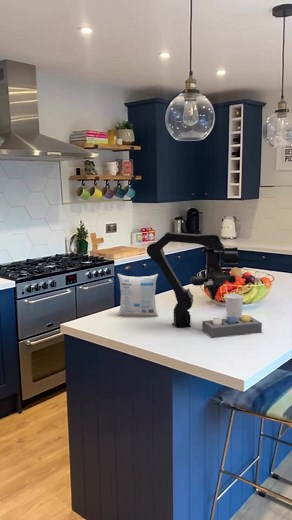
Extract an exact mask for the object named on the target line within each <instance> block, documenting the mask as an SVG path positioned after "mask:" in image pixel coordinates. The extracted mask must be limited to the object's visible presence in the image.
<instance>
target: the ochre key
mask: <svg viewBox="0 0 292 520" xmlns="http://www.w3.org/2000/svg"><path fill="white" fill-rule="evenodd" d="M241 317H242V322H243V323H245V322H250V317H251V315H249V314H243V315H242V316H241Z"/></svg>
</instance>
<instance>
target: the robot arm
mask: <svg viewBox="0 0 292 520" xmlns="http://www.w3.org/2000/svg"><path fill="white" fill-rule="evenodd" d="M171 242H172V243H183V244H184V243H185V244H194V245H200V246H203V247H204V248H203V250H202V251H201V253H202V254H206V255H205V256H206V264H205V265H204V267H205V268H206V270H205V272H206V273H205V275H204V276H205V277H201V276H199V275H197V276H191V277H190V279H189V283H190V284H191V285H192V286H195V287H198V286H205V288H206V289H207V292H208V294H209V296H210V299H211V300H212V301H214V300H215V299H216V296H217V294H218V291H219V289H220V288H221V287H222V286H224V284H226V282H228V284H235V283H237V278H236V276H235V275H233V274H231V272H230V271H229V270H227V271H223V269H222V266H221V262H223V263H224V264H225V265H226V264H227V265H229V264H231V265H235V264H236V265H238V264H239V253H238V250H239V249H238V247H237V246H236V247H225V246H224V244H223V243H222V241H221V237H220V235H219V234H218V233H216V232H212V233H211V232H210V233H201V234H195V233H182V232H174V231H168V232H166V233H165V234H164V235H163V236H162V237H160V239H158V240H157V241H154V242H151V243H150V244H148V246H147V247H146V254H147V255H148V256H149V258H150V259H151V260H152V261H153V262H154V263H155V264H157V266H158V267H159V269H160V271H161V272H162V274H163V276H164V277H165V279H166V280H167V283H168V284H169V286H170V288H171V289H172V291H173V293H174V295H175V298H176V304H175V306H174V308H173V322H172V323H171V324H172V325H173V326H174V327H175V328H177V329H180V328H187V327H188V328H190V327H191V326H192V325H191V322H192V321H191V320H192V319H191V314H190V311H189V310H190V309H191V308H192V306H193V304H194V295H193V294H192V293H191V290H190V288H187V289H185V288H184V286H183V285H182V283H181V282H180V280H179V279H178V277H177V275H176V274H175V272H174V270H173V268H172V267H171V265H170V262H169V261H168V259H167V258H166V255H165V251H164V248H165V246H166V245H168V244H169V243H171Z"/></svg>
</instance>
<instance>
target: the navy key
mask: <svg viewBox="0 0 292 520" xmlns="http://www.w3.org/2000/svg"><path fill="white" fill-rule="evenodd" d="M226 319H227V323H228V324H236V317H233V316H230V317H227V316H226Z"/></svg>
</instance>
